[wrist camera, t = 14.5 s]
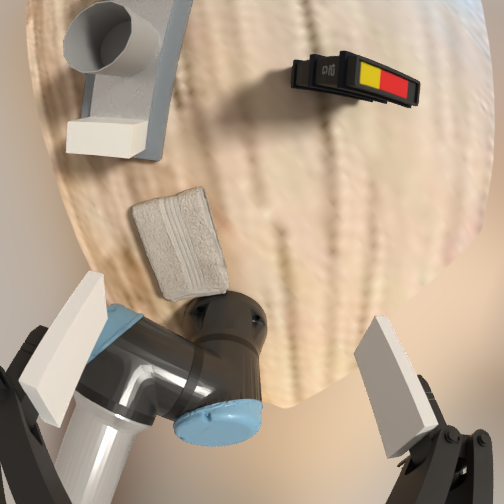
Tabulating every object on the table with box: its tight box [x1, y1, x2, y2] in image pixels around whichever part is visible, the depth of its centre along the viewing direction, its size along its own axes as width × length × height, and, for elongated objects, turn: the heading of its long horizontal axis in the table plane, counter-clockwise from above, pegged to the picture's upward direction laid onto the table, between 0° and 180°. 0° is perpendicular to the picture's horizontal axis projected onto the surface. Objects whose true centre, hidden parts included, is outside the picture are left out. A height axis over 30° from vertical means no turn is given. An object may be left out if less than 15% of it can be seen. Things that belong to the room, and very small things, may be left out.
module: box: [66, 117, 148, 159], centre depth 32 cm, size 4×9×6 cm, turn 78°
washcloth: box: [132, 187, 229, 302], centre depth 45 cm, size 12×18×3 cm, turn 12°
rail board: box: [81, 0, 193, 161], centre depth 31 cm, size 31×13×2 cm, turn 168°
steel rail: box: [90, 0, 176, 149], centre depth 30 cm, size 28×9×1 cm, turn 168°
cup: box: [63, 1, 160, 76], centre depth 25 cm, size 8×8×10 cm
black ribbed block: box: [291, 51, 420, 108], centre depth 30 cm, size 4×13×15 cm, turn 86°
